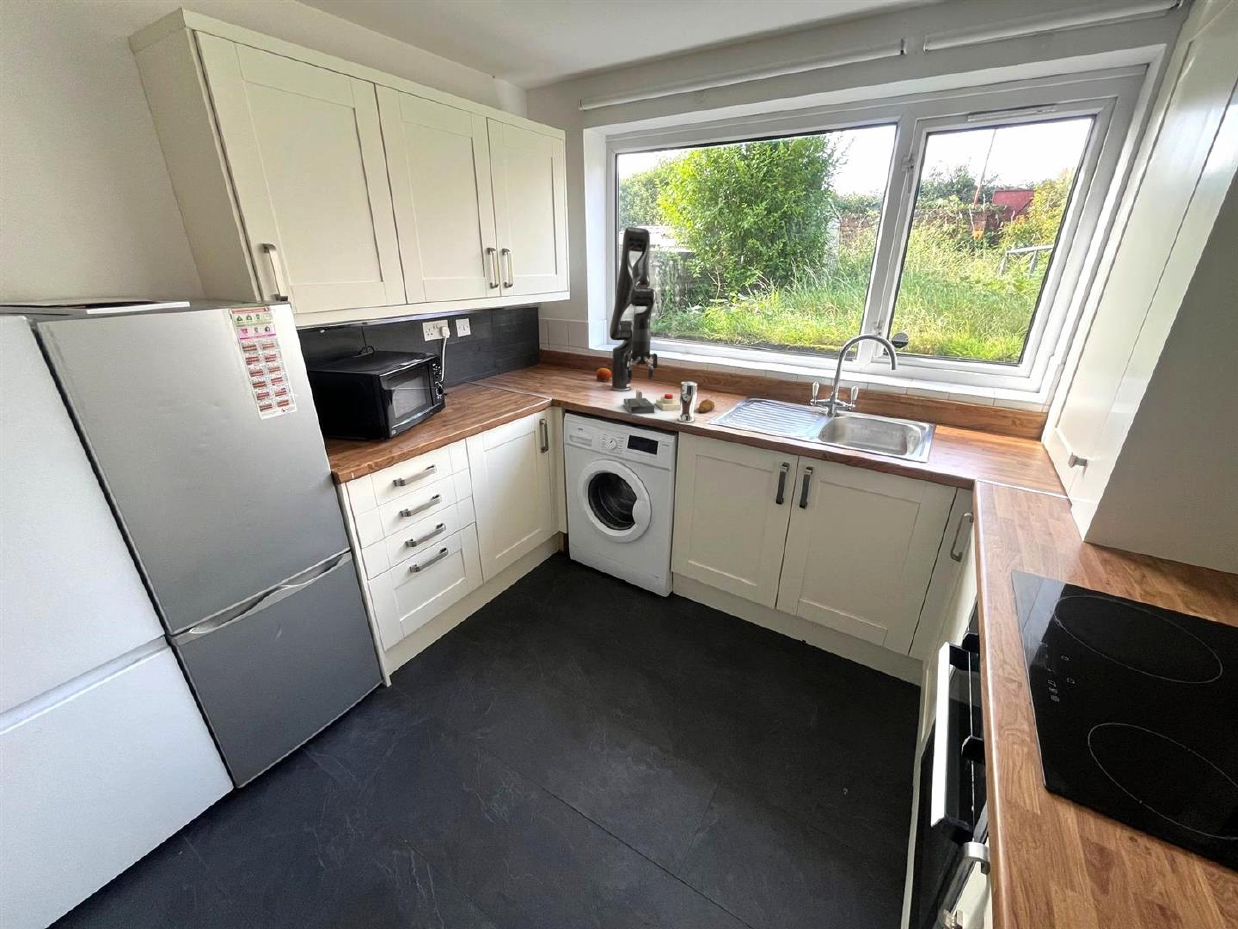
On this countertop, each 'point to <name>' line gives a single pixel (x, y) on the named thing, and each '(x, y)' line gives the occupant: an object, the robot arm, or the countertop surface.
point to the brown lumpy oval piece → (706, 406)
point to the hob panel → (638, 406)
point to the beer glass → (687, 401)
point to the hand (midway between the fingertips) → (639, 378)
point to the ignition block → (668, 404)
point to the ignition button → (668, 396)
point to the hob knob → (639, 396)
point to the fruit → (603, 374)
